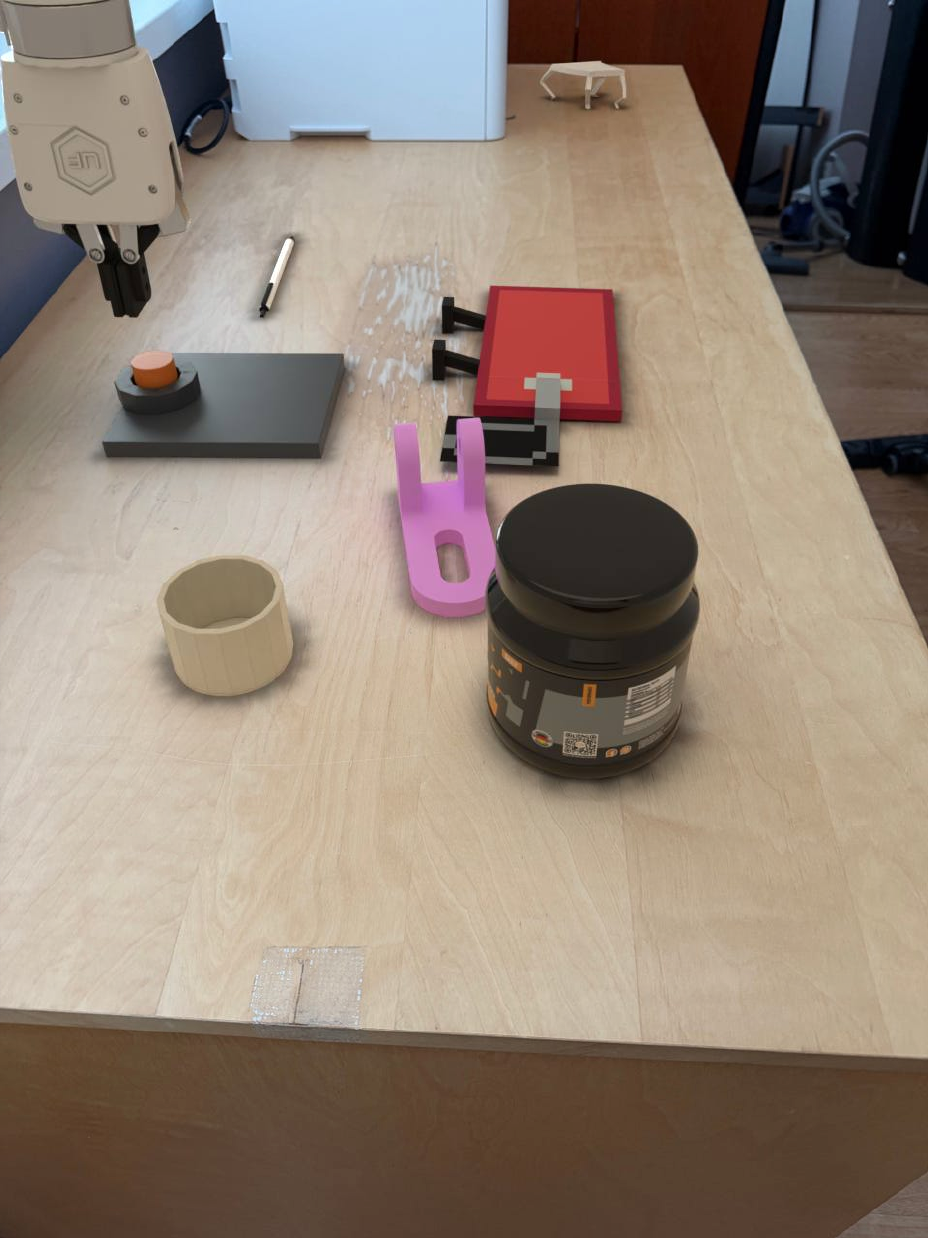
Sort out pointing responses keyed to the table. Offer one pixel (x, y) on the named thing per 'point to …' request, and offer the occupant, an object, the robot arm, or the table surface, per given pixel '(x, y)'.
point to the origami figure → (588, 77)
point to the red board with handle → (534, 369)
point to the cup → (226, 624)
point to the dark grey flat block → (230, 407)
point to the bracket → (445, 521)
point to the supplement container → (590, 628)
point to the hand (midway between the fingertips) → (131, 309)
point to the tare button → (154, 369)
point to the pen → (276, 277)
